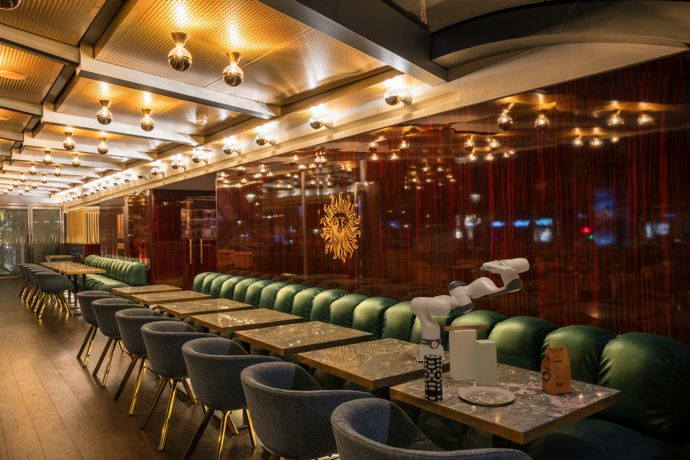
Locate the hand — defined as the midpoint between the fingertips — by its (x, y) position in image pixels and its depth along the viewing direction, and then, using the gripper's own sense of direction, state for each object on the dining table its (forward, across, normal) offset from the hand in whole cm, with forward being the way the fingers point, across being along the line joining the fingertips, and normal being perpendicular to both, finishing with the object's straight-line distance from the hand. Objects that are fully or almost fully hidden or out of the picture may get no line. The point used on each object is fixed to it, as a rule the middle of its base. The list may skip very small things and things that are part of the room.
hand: (486, 270), depth 288 cm
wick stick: (+26, -16, -27) cm, 40 cm away
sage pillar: (+27, -33, -51) cm, 66 cm away
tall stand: (+30, -18, -52) cm, 63 cm away
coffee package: (+4, -57, -50) cm, 76 cm away
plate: (+41, -51, -48) cm, 81 cm away
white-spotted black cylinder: (+63, -41, -47) cm, 89 cm away
